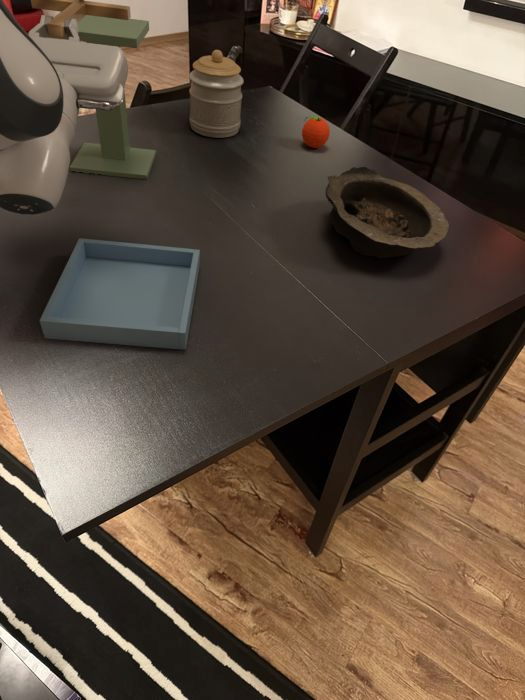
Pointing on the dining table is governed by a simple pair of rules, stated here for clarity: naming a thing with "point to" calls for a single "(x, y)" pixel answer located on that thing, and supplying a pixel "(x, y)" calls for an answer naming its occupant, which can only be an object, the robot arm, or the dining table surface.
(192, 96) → the jar
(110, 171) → the green pedestal stand
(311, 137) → the clementine
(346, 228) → the stone bowl
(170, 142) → the dining table surface
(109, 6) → the wooden t-shaped piece
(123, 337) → the tray
